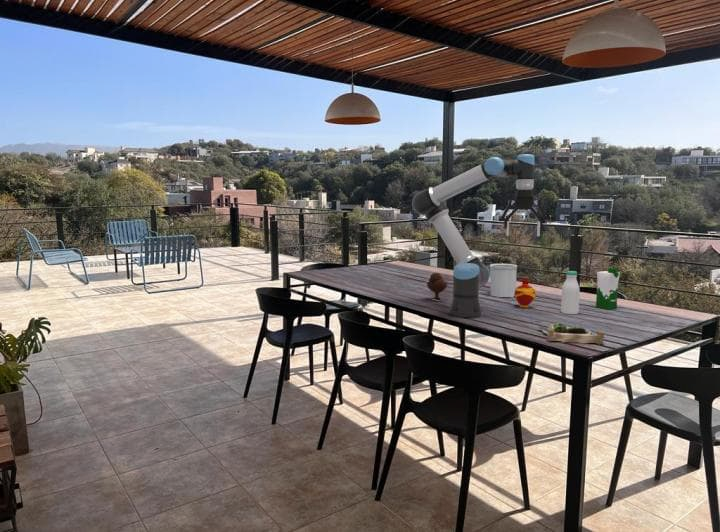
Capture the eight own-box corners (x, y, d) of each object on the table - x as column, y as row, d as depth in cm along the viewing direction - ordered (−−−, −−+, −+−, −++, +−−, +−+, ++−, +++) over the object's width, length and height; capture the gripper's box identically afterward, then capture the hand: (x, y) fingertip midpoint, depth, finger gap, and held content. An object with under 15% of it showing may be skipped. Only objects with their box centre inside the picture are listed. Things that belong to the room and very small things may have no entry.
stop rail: (548, 341, 187) (548, 330, 186) (546, 339, 190) (547, 328, 189) (603, 344, 184) (604, 332, 183) (601, 342, 186) (601, 331, 186)
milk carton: (609, 310, 244) (612, 269, 242) (592, 307, 252) (594, 267, 249) (619, 308, 249) (622, 268, 247) (602, 305, 257) (604, 266, 254)
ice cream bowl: (448, 302, 263) (449, 273, 261) (427, 302, 263) (428, 273, 261) (445, 298, 273) (446, 271, 272) (425, 298, 274) (425, 271, 272)
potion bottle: (512, 307, 249) (514, 278, 247) (514, 304, 258) (515, 275, 257) (535, 309, 245) (536, 279, 243) (536, 305, 255) (537, 276, 253)
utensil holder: (489, 297, 276) (491, 266, 274) (487, 293, 291) (488, 263, 289) (517, 298, 274) (519, 266, 272) (513, 293, 289) (515, 263, 286)
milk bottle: (580, 315, 233) (582, 272, 231) (562, 314, 235) (564, 272, 232) (576, 311, 241) (578, 270, 238) (559, 311, 242) (561, 270, 240)
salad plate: (529, 334, 198) (530, 323, 198) (546, 326, 212) (547, 316, 211) (580, 344, 186) (581, 331, 185) (595, 334, 199) (595, 323, 199)
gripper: (497, 189, 226) (495, 236, 228) (555, 188, 221) (552, 236, 224) (495, 189, 233) (494, 235, 235) (551, 189, 228) (549, 235, 231)
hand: (522, 236), depth 230 cm, fingers open, 13 cm apart
